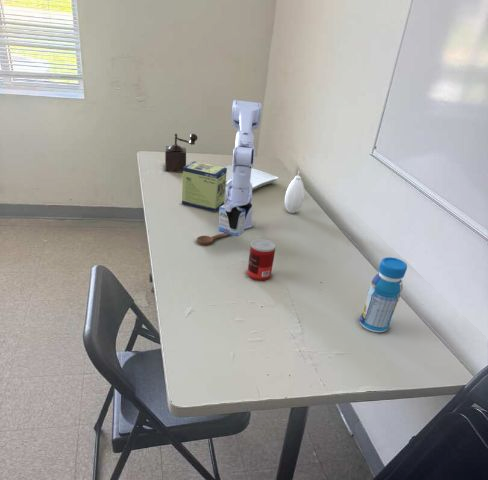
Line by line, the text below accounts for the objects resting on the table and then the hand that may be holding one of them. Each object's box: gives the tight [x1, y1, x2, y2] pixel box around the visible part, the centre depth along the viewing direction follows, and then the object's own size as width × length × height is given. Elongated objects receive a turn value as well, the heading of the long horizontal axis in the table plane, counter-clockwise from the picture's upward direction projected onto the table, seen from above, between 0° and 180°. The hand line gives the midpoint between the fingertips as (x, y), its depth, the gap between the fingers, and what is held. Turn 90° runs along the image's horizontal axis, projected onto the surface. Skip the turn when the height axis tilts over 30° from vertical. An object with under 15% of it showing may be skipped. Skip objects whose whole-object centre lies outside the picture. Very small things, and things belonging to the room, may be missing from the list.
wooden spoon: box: [196, 232, 232, 246], centre depth 161 cm, size 15×5×1 cm, turn 135°
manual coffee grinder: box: [164, 133, 199, 173], centre depth 217 cm, size 16×11×18 cm
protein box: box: [181, 161, 227, 213], centre depth 183 cm, size 10×16×16 cm
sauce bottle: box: [284, 171, 305, 214], centre depth 186 cm, size 8×8×18 cm
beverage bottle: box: [359, 256, 408, 333], centre depth 121 cm, size 8×8×20 cm
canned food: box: [247, 238, 277, 282], centre depth 140 cm, size 8×8×11 cm
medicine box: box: [217, 204, 246, 237], centre depth 149 cm, size 8×4×9 cm, turn 61°
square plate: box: [223, 163, 280, 191], centre depth 215 cm, size 27×27×4 cm
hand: (236, 225), depth 150 cm, fingers closed on medicine box, 4 cm apart
